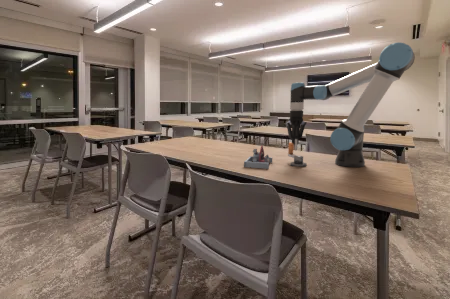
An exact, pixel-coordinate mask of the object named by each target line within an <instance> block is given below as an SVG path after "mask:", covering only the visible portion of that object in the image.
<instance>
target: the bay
mask: <svg viewBox="0 0 450 299" xmlns="http://www.w3.org/2000/svg"><path fill="white" fill-rule="evenodd" d="M269 159H270V162H269V163H262V162H252V161H251V160H253V155H250V156H248V157H247V159H246V160H244V161H243V168H250V167H251V169H252V168H253V169H255V168H256V169H266V170H267V169H268V170H269V168H270V164H272V163H273V157H272V156H269Z"/></svg>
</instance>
